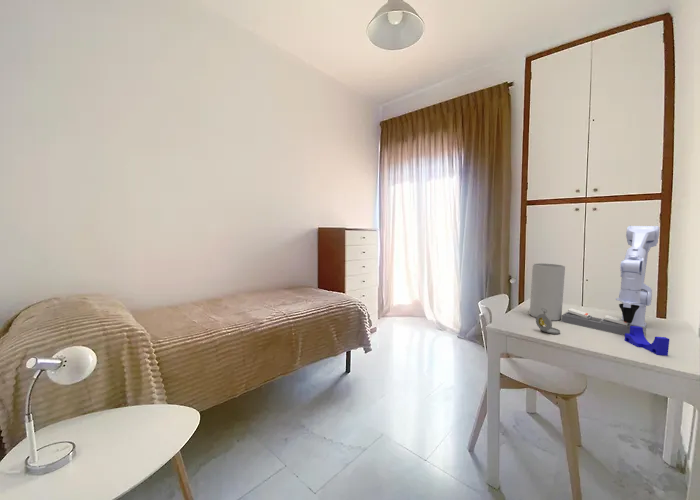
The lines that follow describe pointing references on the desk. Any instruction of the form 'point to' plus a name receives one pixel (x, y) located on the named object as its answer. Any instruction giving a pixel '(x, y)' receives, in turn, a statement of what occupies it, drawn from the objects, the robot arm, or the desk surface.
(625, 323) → the rocker outlet
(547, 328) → the pocket watch
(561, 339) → the desk surface
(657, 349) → the cable clip
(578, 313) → the rocker outlet
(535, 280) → the cylinder vase
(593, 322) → the power strip
